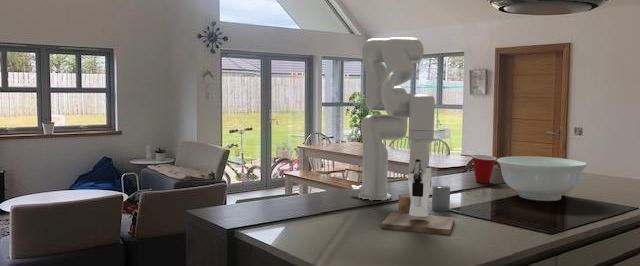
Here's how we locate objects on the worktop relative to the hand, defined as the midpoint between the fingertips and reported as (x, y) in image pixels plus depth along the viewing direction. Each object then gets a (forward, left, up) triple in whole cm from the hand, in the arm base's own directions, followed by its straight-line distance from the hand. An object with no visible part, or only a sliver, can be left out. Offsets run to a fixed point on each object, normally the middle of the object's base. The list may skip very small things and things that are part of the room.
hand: (419, 193), depth 171 cm
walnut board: (0, 0, -10) cm, 10 cm away
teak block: (-6, +15, -10) cm, 19 cm away
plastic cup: (+16, +90, -10) cm, 92 cm away
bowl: (+38, +62, -10) cm, 73 cm away
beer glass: (0, 0, -7) cm, 7 cm away
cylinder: (+4, +25, -10) cm, 27 cm away
